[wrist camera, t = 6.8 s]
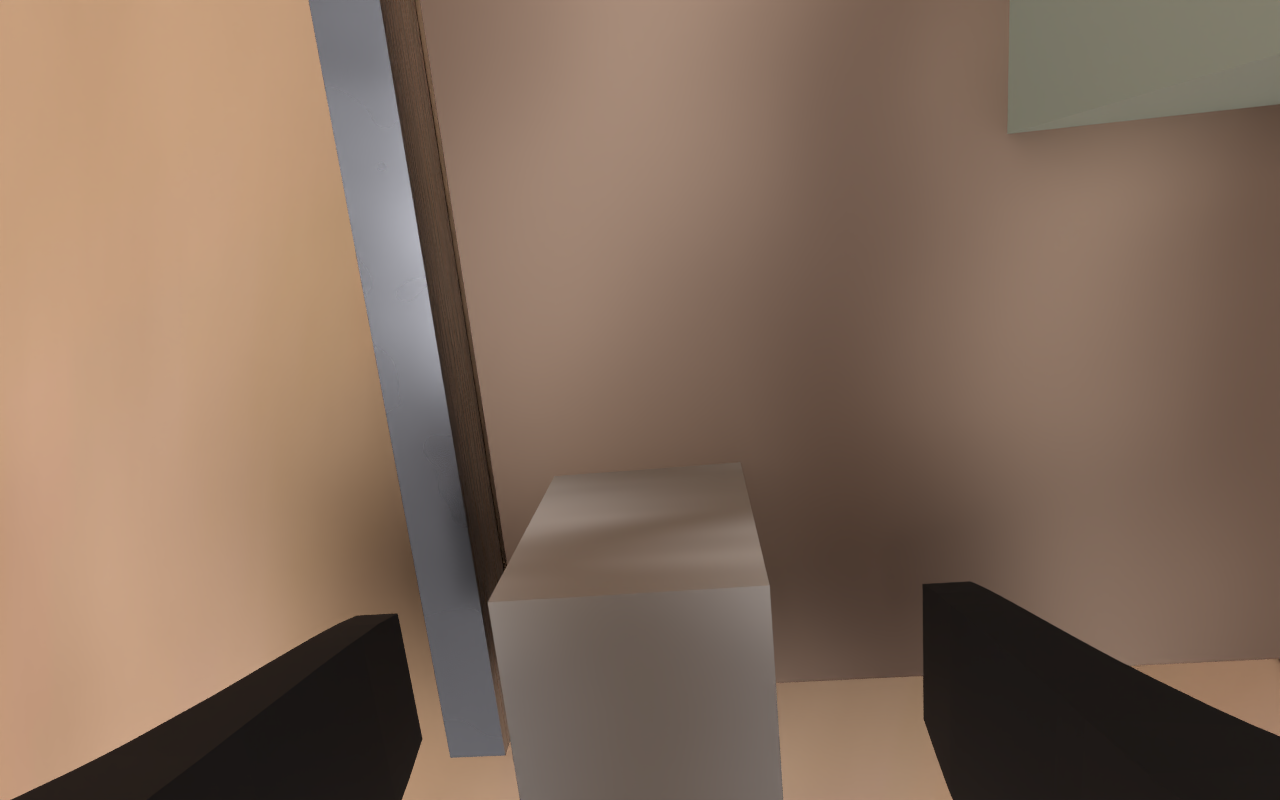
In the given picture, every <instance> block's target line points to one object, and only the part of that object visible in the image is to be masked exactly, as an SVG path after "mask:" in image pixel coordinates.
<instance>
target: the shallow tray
mask: <svg viewBox="0 0 1280 800" xmlns="http://www.w3.org/2000/svg"><path fill="white" fill-rule="evenodd" d="M420 5H421V11H422V18H423V24H424V31H425V37H426V44H427V50H428V57H429V63H430V70H431V76H432V82H433V89H434V95H435V102H436V108H437V115H438V121H439V128H440V134H441V141H442V147H443V153H444V160H445V166H446V173H447V179H448V186H449V192H450V199H451V205H452V212H453V218H454V225H455V231H456V237H457V244H458V250H459V257H460V263H461V270H462V276H463V283H464V289H465V296H466V302H467V308H468V315H469V321H470V328H471V334H472V341H473V347H474V354H475V360H476V367H477V373H478V380H479V386H480V392H481V399H482V405H483V412H484V418H485V425H486V431H487V438H488V444H489V451H490V457H491V463H492V470H493V476H494V483H495V489H496V496H497V502H498V509H499V515H500V522H501V528H502V535H503V541H504V547H505V554H506V560H507V567H506V569H505V570H504V572H503V574H502V576H501V578H500V580H499V582H498V584H497V586H496V588H495V589H494V591H493V593H492V595H491V597H490V599H489V601H488V607H489V614H490V620H491V626H492V632H493V638H494V644H495V650H496V656H497V662H498V668H499V675H500V681H501V687H502V693H503V699H504V705H505V711H506V717H507V723H508V730H509V736H510V742H511V748H512V754H513V760H514V766H515V772H516V778H517V784H518V791H519V797H520V800H783V788H782V773H781V757H780V741H779V725H778V709H777V694H776V683H784V682H805V681H826V680H846V679H867V678H887V677H908V676H923V589H922V584H930V583H948V582H966V581H971V582H973V583H976V584H978V585H980V586H982V587H984V588H986V589H988V590H990V591H992V592H994V593H996V594H998V595H1000V596H1002V597H1004V598H1005V599H1007V600H1009V601H1011V602H1013V603H1015V604H1016V605H1018V606H1020V607H1022V608H1024V609H1025V610H1027V611H1029V612H1031V613H1033V614H1034V615H1036V616H1038V617H1040V618H1041V619H1043V620H1045V621H1047V622H1049V623H1050V624H1052V625H1054V626H1056V627H1058V628H1059V629H1061V630H1063V631H1065V632H1067V633H1068V634H1070V635H1072V636H1074V637H1076V638H1078V639H1079V640H1081V641H1083V642H1085V643H1087V644H1089V645H1090V646H1092V647H1094V648H1096V649H1098V650H1100V651H1102V652H1103V653H1105V654H1107V655H1109V656H1111V657H1113V658H1115V659H1117V660H1119V661H1120V662H1122V663H1124V664H1126V665H1128V666H1135V665H1155V664H1176V663H1197V662H1217V661H1238V660H1258V659H1279V658H1280V104H1276V105H1267V106H1258V107H1249V108H1240V109H1231V110H1222V111H1212V112H1203V113H1194V114H1185V115H1176V116H1167V117H1158V118H1149V119H1139V120H1130V121H1121V122H1112V123H1103V124H1094V125H1085V126H1075V127H1066V128H1057V129H1048V130H1039V131H1030V132H1021V133H1011V134H1007V126H1008V70H1009V13H1010V0H420Z"/></svg>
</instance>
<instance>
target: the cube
mask: <svg viewBox="0 0 1280 800" xmlns="http://www.w3.org/2000/svg"><path fill="white" fill-rule="evenodd" d="M1276 104H1280V0H1010V13H1009V70H1008V126H1007V134H1011V133H1021V132H1030V131H1039V130H1048V129H1057V128H1066V127H1075V126H1085V125H1094V124H1103V123H1112V122H1121V121H1130V120H1139V119H1149V118H1158V117H1167V116H1176V115H1185V114H1194V113H1203V112H1212V111H1222V110H1231V109H1240V108H1249V107H1258V106H1267V105H1276Z"/></svg>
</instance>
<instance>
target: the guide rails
mask: <svg viewBox="0 0 1280 800" xmlns="http://www.w3.org/2000/svg"><path fill="white" fill-rule="evenodd" d="M309 5H310V10H311V16H312V21H313V26H314V32H315V37H316V42H317V48H318V53H319V58H320V64H321V69H322V74H323V80H324V85H325V90H326V96H327V101H328V106H329V112H330V117H331V122H332V128H333V133H334V138H335V144H336V149H337V154H338V160H339V165H340V170H341V176H342V181H343V186H344V192H345V197H346V202H347V208H348V213H349V218H350V224H351V229H352V234H353V240H354V245H355V251H356V256H357V261H358V267H359V272H360V277H361V283H362V288H363V293H364V299H365V304H366V309H367V315H368V320H369V325H370V331H371V336H372V341H373V347H374V352H375V357H376V363H377V368H378V373H379V379H380V384H381V389H382V395H383V400H384V405H385V411H386V416H387V421H388V427H389V432H390V437H391V443H392V448H393V453H394V459H395V464H396V469H397V475H398V480H399V485H400V491H401V496H402V501H403V507H404V512H405V517H406V523H407V528H408V533H409V539H410V544H411V549H412V555H413V560H414V565H415V571H416V576H417V582H418V587H419V592H420V598H421V603H422V608H423V614H424V619H425V624H426V630H427V635H428V640H429V646H430V651H431V656H432V662H433V667H434V672H435V678H436V683H437V688H438V694H439V699H440V704H441V710H442V715H443V720H444V726H445V731H446V736H447V742H448V747H449V752H450V758H453V757H477V756H501V755H506V752H507V749H508V746H509V743H510V736H509V730H508V723H507V717H506V711H505V705H504V699H503V693H502V687H501V681H500V675H499V668H498V662H497V656H496V650H495V644H494V638H493V632H492V626H491V620H490V614H489V607H488V601H489V599H490V597H491V595H492V593H493V591H494V589H495V588H496V586H497V584H498V582H499V580H500V578H501V576H502V574H503V572H504V570H503V564H502V557H501V551H500V544H499V538H498V532H497V525H496V519H495V512H494V506H493V500H492V493H491V487H490V480H489V474H488V468H487V461H486V455H485V448H484V442H483V436H482V429H481V423H480V416H479V410H478V404H477V397H476V391H475V384H474V378H473V372H472V365H471V359H470V353H469V346H468V340H467V333H466V327H465V321H464V314H463V308H462V301H461V295H460V289H459V282H458V276H457V269H456V263H455V257H454V250H453V244H452V237H451V231H450V225H449V218H448V212H447V205H446V199H445V193H444V186H443V180H442V173H441V167H440V161H439V154H438V148H437V142H436V135H435V129H434V122H433V116H432V110H431V103H430V97H429V90H428V84H427V78H426V71H425V65H424V58H423V52H422V46H421V39H420V33H419V26H418V20H417V14H416V7H415V1H414V0H309Z"/></svg>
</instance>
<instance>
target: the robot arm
mask: <svg viewBox="0 0 1280 800" xmlns="http://www.w3.org/2000/svg"><path fill="white" fill-rule="evenodd" d="M922 589H923V694H924V721H925V724H926V727H927V730H928V733H929V736H930V739H931V741H932V744H933V747H934V750H935V753H936V756H937V759H938V762H939V764H940V767H941V770H942V772H943V775H944V778H945V781H946V783H947V786H948V789H949V791H950V794H951V796H952V798H953V800H1280V736H1277V735H1275V734H1273V733H1270V732H1268V731H1265V730H1263V729H1261V728H1258V727H1256V726H1253V725H1251V724H1249V723H1247V722H1245V721H1242V720H1240V719H1238V718H1236V717H1233V716H1231V715H1229V714H1227V713H1224V712H1222V711H1220V710H1218V709H1216V708H1214V707H1211V706H1209V705H1207V704H1205V703H1203V702H1201V701H1199V700H1197V699H1195V698H1193V697H1191V696H1189V695H1187V694H1185V693H1182V692H1180V691H1178V690H1176V689H1174V688H1172V687H1170V686H1168V685H1166V684H1164V683H1162V682H1160V681H1158V680H1156V679H1154V678H1152V677H1150V676H1148V675H1146V674H1144V673H1142V672H1140V671H1138V670H1136V669H1134V668H1132V667H1130V666H1128V665H1126V664H1124V663H1122V662H1120V661H1119V660H1117V659H1115V658H1113V657H1111V656H1109V655H1107V654H1105V653H1103V652H1102V651H1100V650H1098V649H1096V648H1094V647H1092V646H1090V645H1089V644H1087V643H1085V642H1083V641H1081V640H1079V639H1078V638H1076V637H1074V636H1072V635H1070V634H1068V633H1067V632H1065V631H1063V630H1061V629H1059V628H1058V627H1056V626H1054V625H1052V624H1050V623H1049V622H1047V621H1045V620H1043V619H1041V618H1040V617H1038V616H1036V615H1034V614H1033V613H1031V612H1029V611H1027V610H1025V609H1024V608H1022V607H1020V606H1018V605H1016V604H1015V603H1013V602H1011V601H1009V600H1007V599H1005V598H1004V597H1002V596H1000V595H998V594H996V593H994V592H992V591H990V590H988V589H986V588H984V587H982V586H980V585H978V584H976V583H973V582H971V581H966V582H948V583H930V584H922ZM421 741H422V735H421V730H420V725H419V720H418V715H417V710H416V705H415V699H414V694H413V689H412V684H411V679H410V674H409V669H408V664H407V659H406V654H405V649H404V643H403V638H402V633H401V628H400V623H399V618H398V613H397V614H379V615H361V616H355V617H353V618H350V619H348V620H346V621H343V622H341V623H339V624H337V625H335V626H333V627H331V628H329V629H327V630H326V631H324V632H322V633H320V634H318V635H316V636H315V637H313V638H311V639H309V640H308V641H306V642H304V643H302V644H301V645H299V646H297V647H295V648H294V649H292V650H290V651H288V652H287V653H285V654H283V655H282V656H280V657H278V658H276V659H275V660H273V661H271V662H270V663H268V664H266V665H265V666H263V667H261V668H259V669H258V670H256V671H254V672H253V673H251V674H249V675H247V676H246V677H244V678H242V679H241V680H239V681H237V682H236V683H234V684H232V685H230V686H229V687H227V688H225V689H224V690H222V691H220V692H218V693H217V694H215V695H213V696H212V697H210V698H208V699H206V700H204V701H203V702H201V703H199V704H197V705H195V706H193V707H192V708H190V709H188V710H186V711H184V712H183V713H181V714H179V715H177V716H175V717H174V718H172V719H170V720H168V721H166V722H164V723H163V724H161V725H159V726H157V727H155V728H154V729H152V730H150V731H148V732H146V733H145V734H143V735H141V736H139V737H137V738H135V739H134V740H132V741H130V742H128V743H126V744H124V745H123V746H121V747H119V748H117V749H115V750H113V751H111V752H109V753H107V754H105V755H103V756H101V757H99V758H97V759H95V760H93V761H91V762H89V763H87V764H85V765H83V766H81V767H79V768H77V769H75V770H73V771H71V772H69V773H67V774H65V775H63V776H61V777H58V778H56V779H54V780H52V781H50V782H48V783H46V784H44V785H41V786H39V787H37V788H35V789H33V790H31V791H29V792H27V793H25V794H22V795H20V796H18V797H16V798H14V799H12V800H402V797H403V795H404V792H405V789H406V786H407V784H408V781H409V778H410V775H411V772H412V769H413V766H414V763H415V760H416V757H417V754H418V750H419V747H420V744H421Z"/></svg>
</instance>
